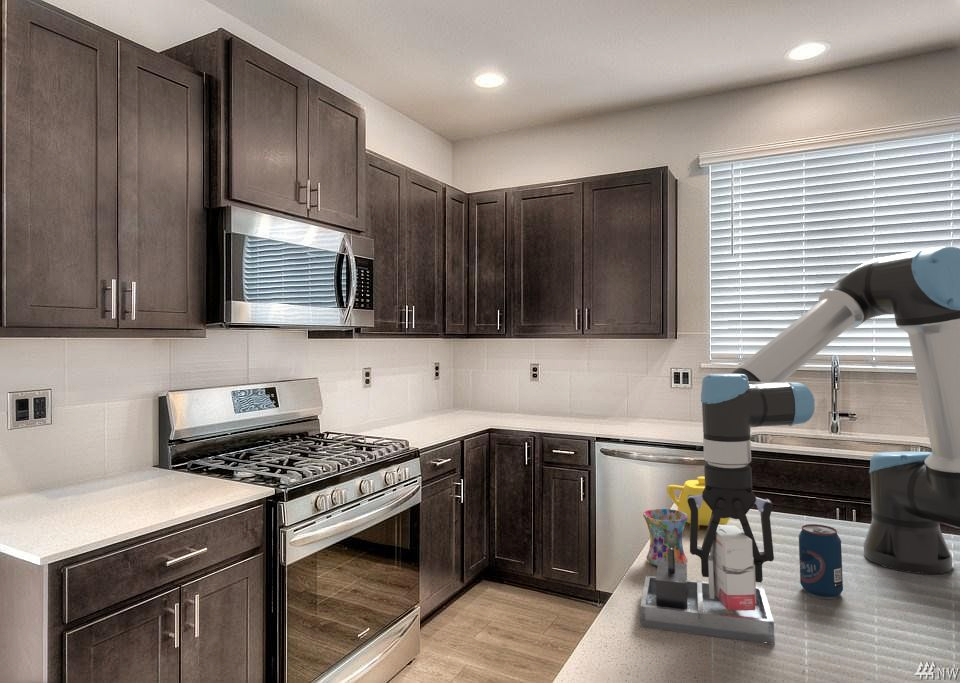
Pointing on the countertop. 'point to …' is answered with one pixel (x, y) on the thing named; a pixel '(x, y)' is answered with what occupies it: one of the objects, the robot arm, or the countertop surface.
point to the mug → (665, 534)
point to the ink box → (733, 568)
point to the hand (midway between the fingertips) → (732, 597)
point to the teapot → (693, 489)
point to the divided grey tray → (699, 607)
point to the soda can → (820, 561)
